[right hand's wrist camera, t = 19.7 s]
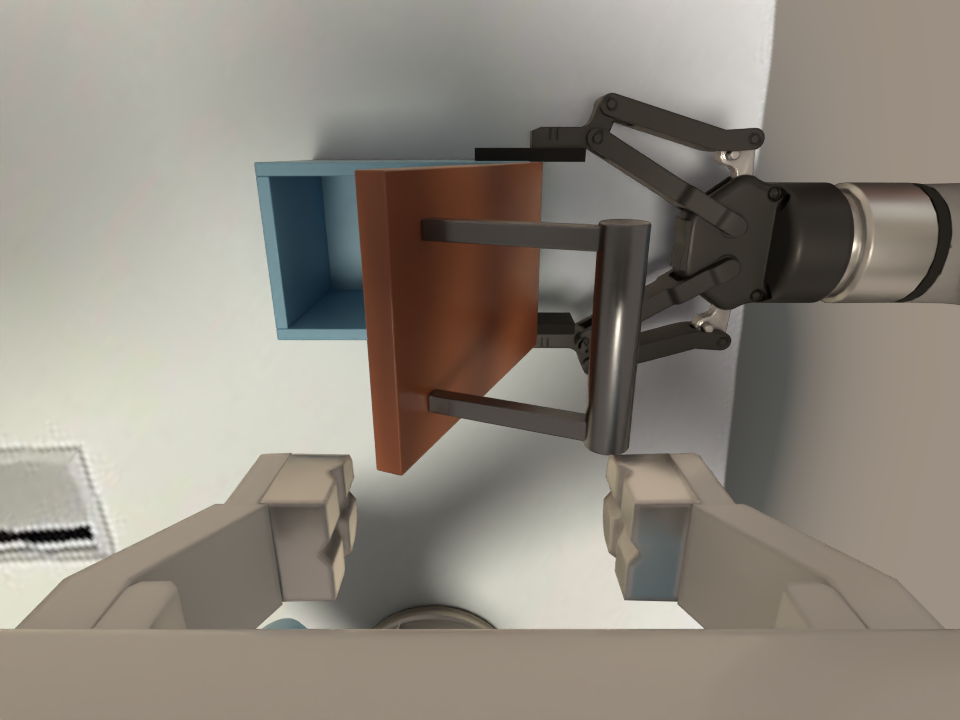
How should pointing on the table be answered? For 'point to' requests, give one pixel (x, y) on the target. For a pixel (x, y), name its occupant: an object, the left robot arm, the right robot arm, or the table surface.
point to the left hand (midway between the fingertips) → (475, 243)
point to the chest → (318, 244)
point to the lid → (484, 305)
